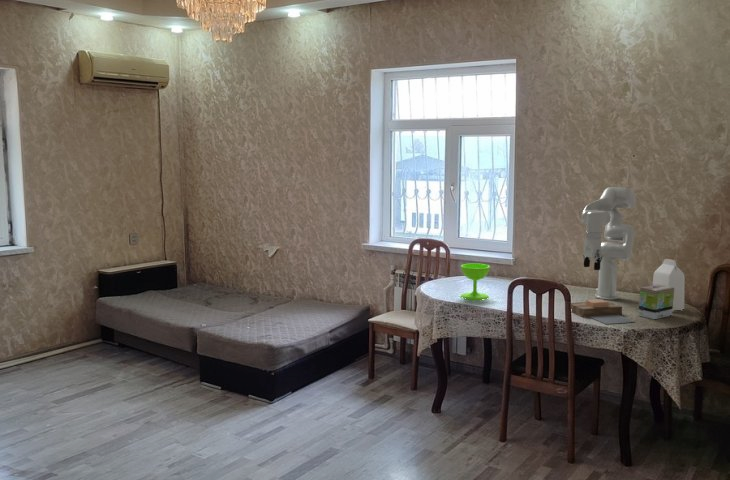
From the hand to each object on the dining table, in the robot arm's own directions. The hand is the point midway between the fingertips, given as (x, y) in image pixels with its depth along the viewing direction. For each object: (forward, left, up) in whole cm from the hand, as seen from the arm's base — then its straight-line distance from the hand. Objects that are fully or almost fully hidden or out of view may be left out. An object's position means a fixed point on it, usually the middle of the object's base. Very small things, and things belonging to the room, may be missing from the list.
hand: (591, 268), depth 346 cm
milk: (+7, +41, -22) cm, 47 cm away
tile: (+8, -1, -17) cm, 19 cm away
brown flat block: (+6, -1, -22) cm, 23 cm away
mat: (+21, -1, -22) cm, 31 cm away
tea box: (+19, +25, -22) cm, 38 cm away
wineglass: (-41, -47, -22) cm, 66 cm away
